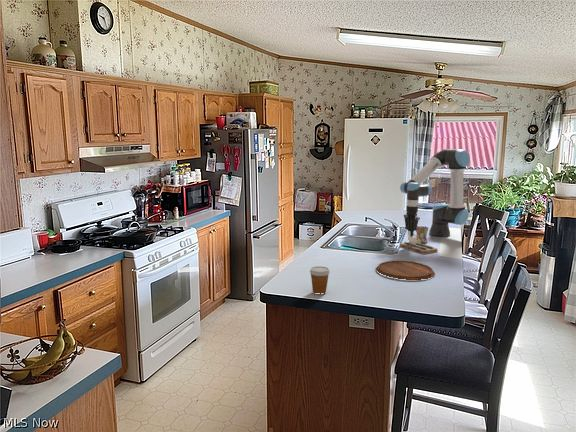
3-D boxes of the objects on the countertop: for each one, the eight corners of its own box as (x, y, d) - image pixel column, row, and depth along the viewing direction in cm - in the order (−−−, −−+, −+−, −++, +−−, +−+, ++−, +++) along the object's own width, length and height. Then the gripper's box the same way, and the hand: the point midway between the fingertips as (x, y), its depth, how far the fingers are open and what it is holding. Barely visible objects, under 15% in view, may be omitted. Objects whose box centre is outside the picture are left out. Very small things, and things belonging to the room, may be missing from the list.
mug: (429, 241, 323) (430, 227, 321) (426, 244, 315) (427, 229, 313) (412, 239, 329) (413, 225, 327) (408, 242, 321) (409, 227, 319)
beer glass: (308, 289, 225) (308, 266, 223) (327, 289, 226) (327, 265, 223) (310, 296, 215) (311, 272, 213) (330, 295, 216) (331, 271, 214)
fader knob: (408, 243, 307) (409, 236, 306) (413, 243, 309) (413, 235, 308) (411, 244, 304) (412, 237, 304) (416, 244, 306) (416, 236, 305)
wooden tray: (399, 246, 309) (399, 241, 309) (412, 244, 315) (413, 239, 314) (423, 254, 290) (424, 249, 290) (437, 251, 296) (437, 247, 295)
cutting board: (402, 285, 233) (402, 280, 232) (364, 268, 260) (364, 264, 260) (447, 276, 247) (448, 272, 247) (407, 261, 275) (407, 257, 274)
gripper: (401, 204, 308) (399, 238, 312) (415, 207, 296) (413, 242, 301) (409, 204, 311) (407, 237, 316) (423, 206, 300) (421, 241, 304)
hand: (410, 240), depth 308 cm, fingers closed
